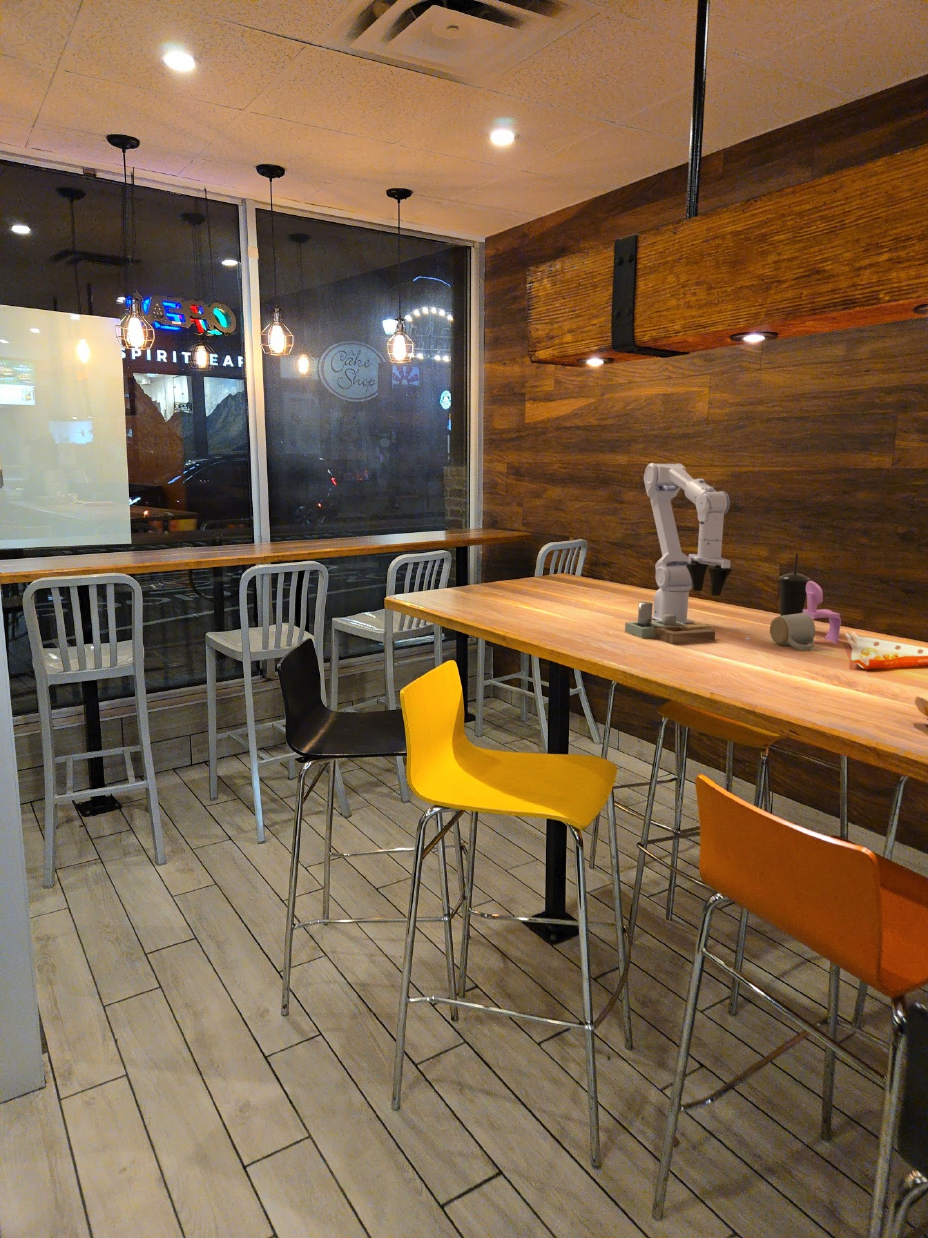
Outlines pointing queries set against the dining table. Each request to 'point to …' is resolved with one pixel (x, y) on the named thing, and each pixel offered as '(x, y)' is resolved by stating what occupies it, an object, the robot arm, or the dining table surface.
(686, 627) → the brown rectangular block
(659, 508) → the robot arm
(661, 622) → the rack
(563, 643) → the dining table surface
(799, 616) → the ceramic mug
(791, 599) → the drinking cup
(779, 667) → the dining table surface
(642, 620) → the grey metal cylinder
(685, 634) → the socket block
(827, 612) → the toy chair
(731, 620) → the dining table surface
